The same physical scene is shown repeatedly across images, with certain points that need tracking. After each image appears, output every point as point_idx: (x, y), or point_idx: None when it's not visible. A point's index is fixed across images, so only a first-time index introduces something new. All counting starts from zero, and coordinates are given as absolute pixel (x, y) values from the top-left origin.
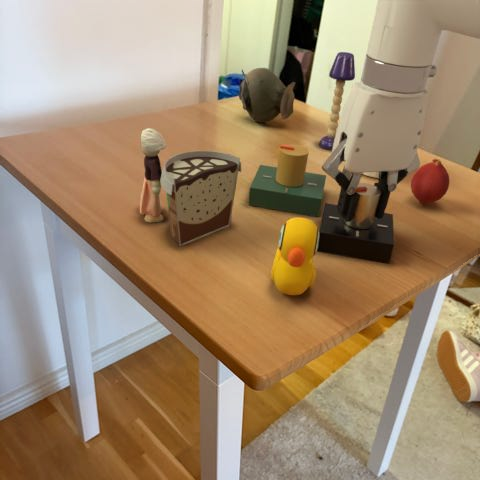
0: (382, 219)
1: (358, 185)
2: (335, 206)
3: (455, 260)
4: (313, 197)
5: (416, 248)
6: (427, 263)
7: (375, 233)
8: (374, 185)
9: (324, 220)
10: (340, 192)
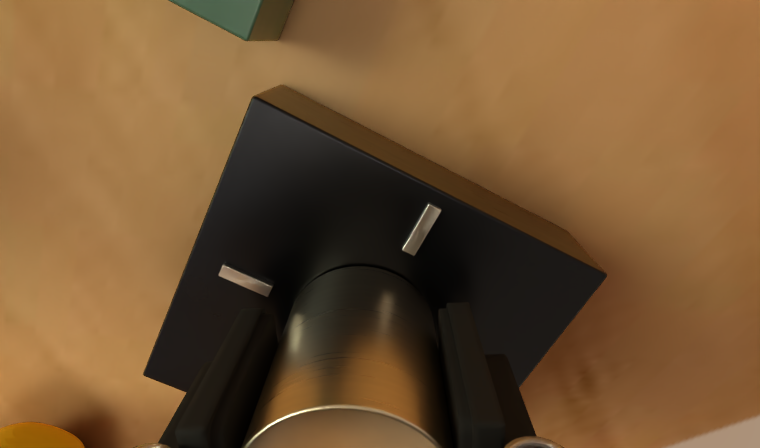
0: (510, 319)
1: (307, 445)
2: (305, 151)
3: (693, 437)
4: (192, 7)
5: (605, 356)
6: (574, 436)
7: None
8: (458, 436)
9: (190, 288)
10: (162, 441)
